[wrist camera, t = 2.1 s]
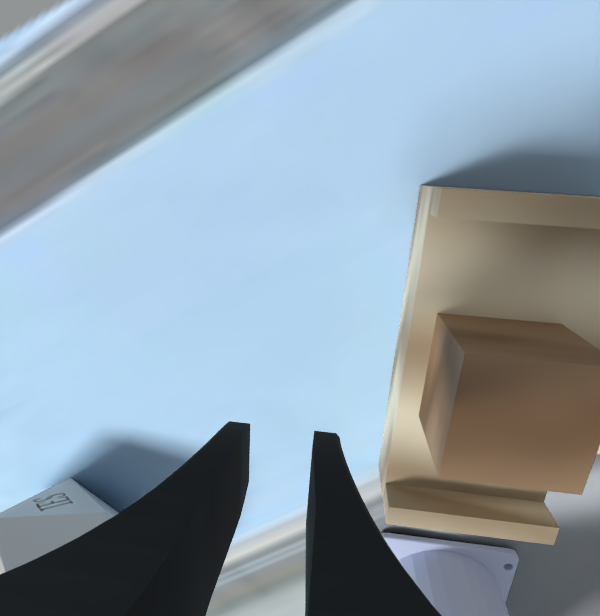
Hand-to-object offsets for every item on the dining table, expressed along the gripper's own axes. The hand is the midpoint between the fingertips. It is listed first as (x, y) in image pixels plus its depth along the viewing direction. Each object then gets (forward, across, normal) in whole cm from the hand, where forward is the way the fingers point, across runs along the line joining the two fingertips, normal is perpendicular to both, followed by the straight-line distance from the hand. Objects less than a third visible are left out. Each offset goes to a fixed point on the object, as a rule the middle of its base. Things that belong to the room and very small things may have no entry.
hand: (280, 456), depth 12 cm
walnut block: (+7, -8, 0) cm, 11 cm away
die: (+10, +13, +14) cm, 21 cm away
